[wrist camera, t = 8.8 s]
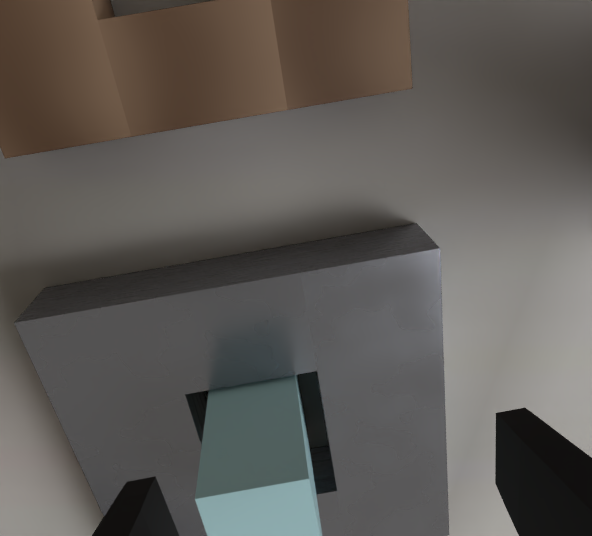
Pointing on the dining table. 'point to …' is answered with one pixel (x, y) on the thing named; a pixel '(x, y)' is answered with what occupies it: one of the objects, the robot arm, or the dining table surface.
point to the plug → (257, 462)
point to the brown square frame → (186, 64)
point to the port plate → (260, 371)
